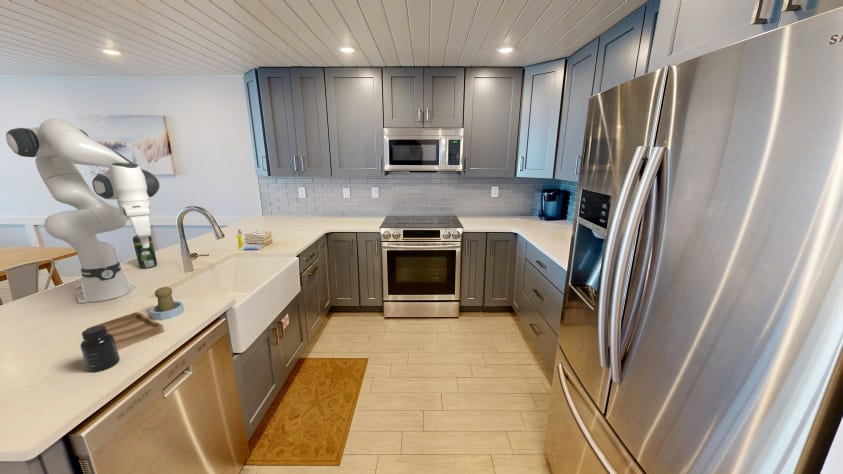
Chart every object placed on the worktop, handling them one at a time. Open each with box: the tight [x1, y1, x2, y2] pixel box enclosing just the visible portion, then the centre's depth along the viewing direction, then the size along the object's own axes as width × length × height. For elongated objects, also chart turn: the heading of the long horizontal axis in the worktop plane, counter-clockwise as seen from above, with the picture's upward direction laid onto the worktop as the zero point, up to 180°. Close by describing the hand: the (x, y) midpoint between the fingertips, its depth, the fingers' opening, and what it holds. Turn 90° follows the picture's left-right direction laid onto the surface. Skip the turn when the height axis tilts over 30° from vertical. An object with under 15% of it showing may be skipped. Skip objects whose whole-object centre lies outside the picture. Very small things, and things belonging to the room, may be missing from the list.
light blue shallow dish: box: [149, 300, 185, 321], centre depth 122 cm, size 10×10×3 cm
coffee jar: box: [132, 235, 158, 270], centre depth 172 cm, size 10×8×19 cm
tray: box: [86, 311, 165, 351], centre depth 108 cm, size 20×14×3 cm
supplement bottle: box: [79, 325, 121, 373], centre depth 90 cm, size 7×7×12 cm
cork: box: [154, 286, 176, 312], centre depth 121 cm, size 6×6×11 cm
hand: (145, 245), depth 115 cm, fingers open, 8 cm apart
